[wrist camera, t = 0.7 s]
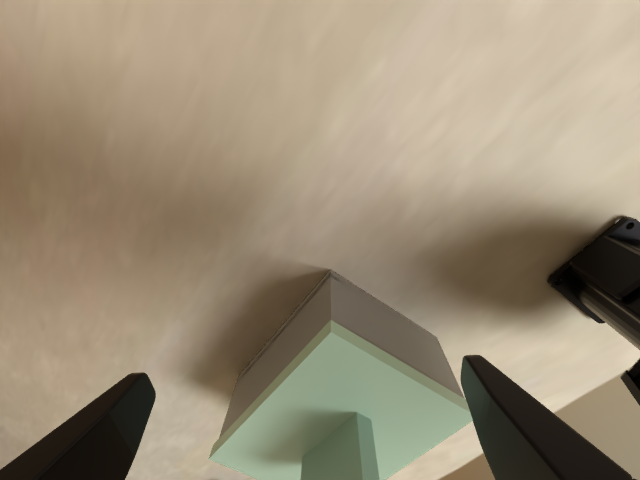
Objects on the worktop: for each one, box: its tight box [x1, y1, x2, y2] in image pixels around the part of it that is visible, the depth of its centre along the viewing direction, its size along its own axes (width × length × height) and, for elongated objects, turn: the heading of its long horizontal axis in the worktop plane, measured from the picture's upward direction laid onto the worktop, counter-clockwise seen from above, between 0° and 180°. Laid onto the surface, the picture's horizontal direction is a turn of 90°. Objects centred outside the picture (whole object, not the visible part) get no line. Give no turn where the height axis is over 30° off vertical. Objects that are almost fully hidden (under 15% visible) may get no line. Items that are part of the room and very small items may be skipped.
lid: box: [209, 320, 473, 480], centre depth 19 cm, size 11×14×7 cm
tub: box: [219, 269, 465, 438], centre depth 24 cm, size 11×14×6 cm
